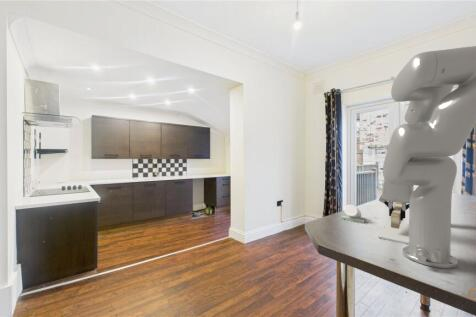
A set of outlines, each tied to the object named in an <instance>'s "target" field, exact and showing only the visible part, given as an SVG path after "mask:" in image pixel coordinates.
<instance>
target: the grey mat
mask: <svg viewBox="0 0 476 317" xmlns="http://www.w3.org/2000/svg"><path fill="white" fill-rule="evenodd" d="M377 237H378V239H381V240H385V241H391V242H396V243H400V244H404V245H409V223H404V222H401V224H400V227H399V229H397V228H392V227H391V220H389V221H388V222H387V224H386V226H385V227H384V228H383V230H382V231H381V232H380V233H379V235H378V236H377Z"/></svg>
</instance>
